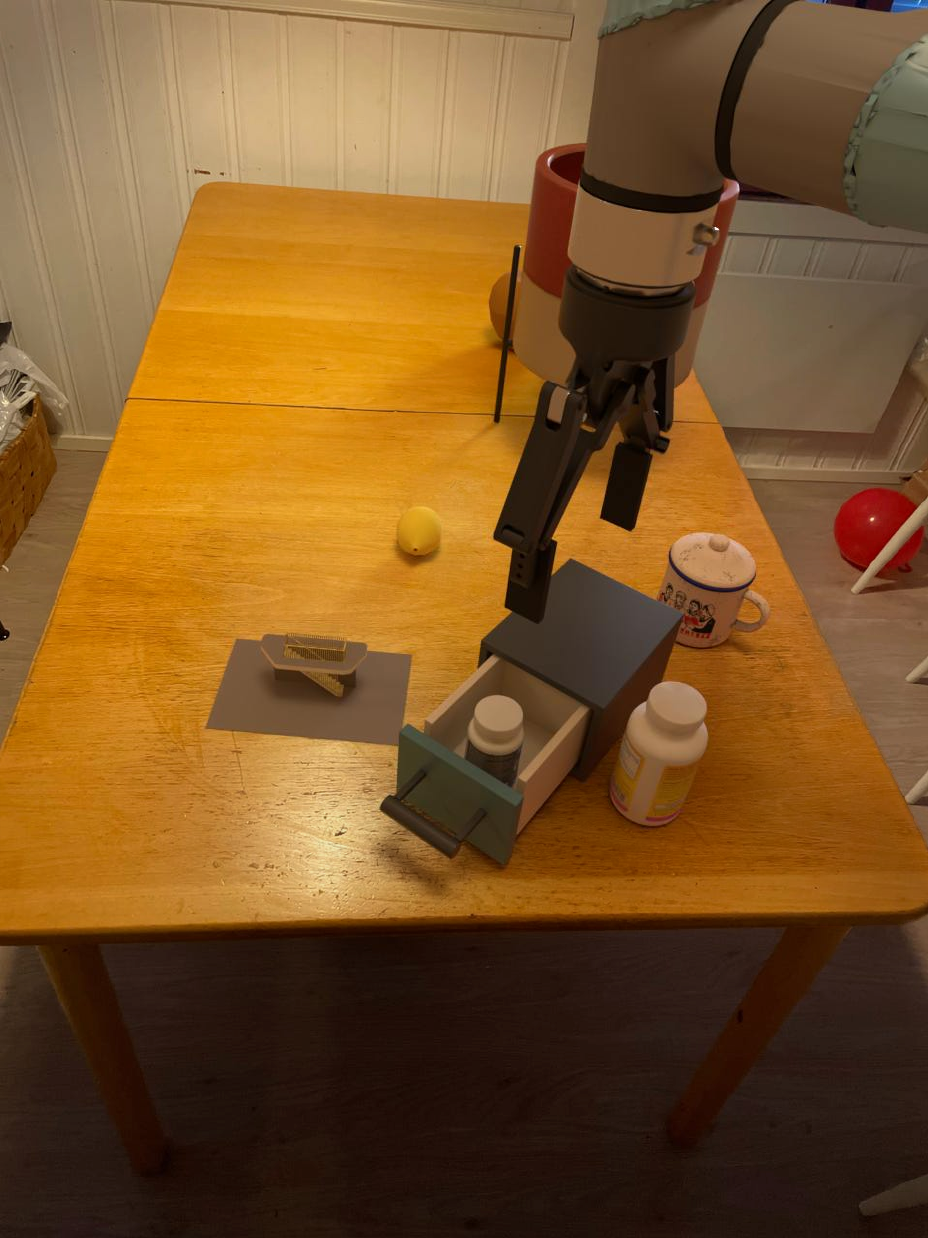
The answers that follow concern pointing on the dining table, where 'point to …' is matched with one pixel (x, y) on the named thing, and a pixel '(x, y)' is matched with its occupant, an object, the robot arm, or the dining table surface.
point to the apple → (503, 303)
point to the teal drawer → (466, 791)
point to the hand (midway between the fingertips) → (573, 565)
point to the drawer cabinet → (592, 649)
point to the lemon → (419, 530)
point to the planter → (549, 261)
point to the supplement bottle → (660, 754)
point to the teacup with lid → (710, 588)
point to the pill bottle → (496, 738)
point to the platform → (313, 689)
